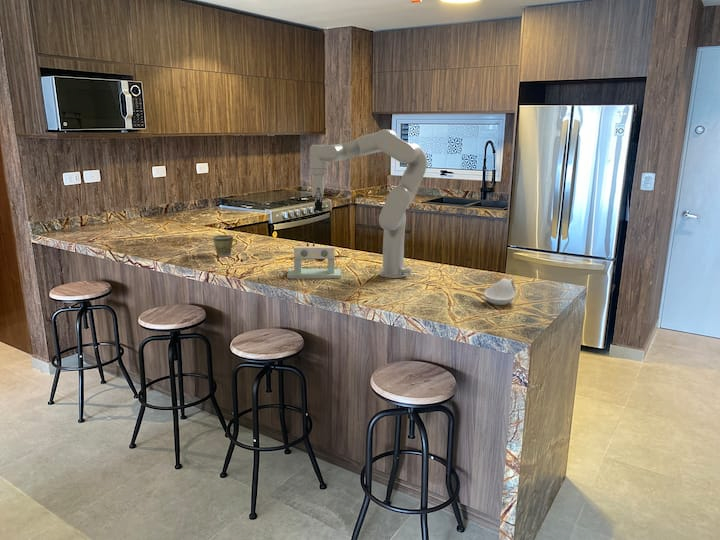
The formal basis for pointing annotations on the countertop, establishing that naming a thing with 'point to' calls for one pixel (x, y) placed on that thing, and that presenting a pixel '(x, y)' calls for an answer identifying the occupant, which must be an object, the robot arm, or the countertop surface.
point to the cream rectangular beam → (313, 252)
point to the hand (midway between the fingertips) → (318, 209)
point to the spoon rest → (501, 292)
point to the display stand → (313, 270)
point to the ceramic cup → (223, 245)
